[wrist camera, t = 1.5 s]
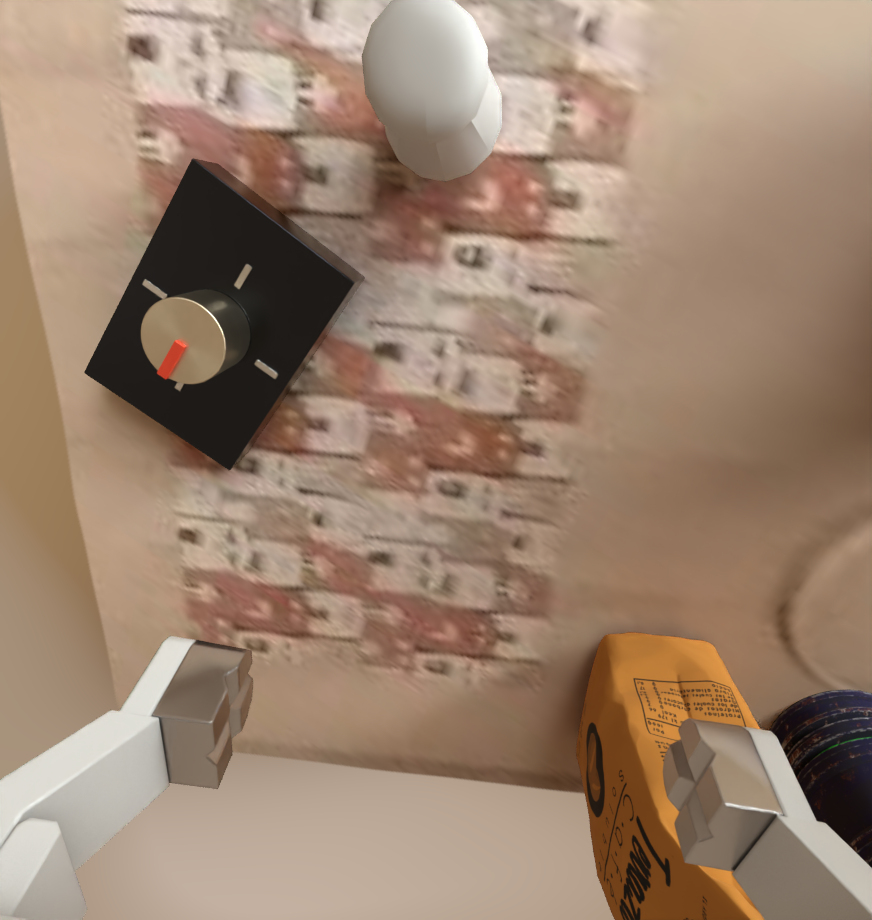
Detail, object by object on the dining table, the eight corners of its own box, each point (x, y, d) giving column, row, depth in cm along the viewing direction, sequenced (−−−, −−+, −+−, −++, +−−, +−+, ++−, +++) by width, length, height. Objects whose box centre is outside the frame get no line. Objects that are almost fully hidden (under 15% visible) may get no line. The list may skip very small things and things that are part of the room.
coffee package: (552, 739, 46) (603, 1144, 26) (595, 611, 42) (699, 985, 21) (677, 763, 46) (827, 1188, 26) (734, 637, 41) (972, 1038, 21)
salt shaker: (369, 138, 31) (298, 88, 19) (430, 30, 29) (394, -98, 17) (458, 206, 32) (443, 199, 20) (523, 107, 30) (549, 34, 18)
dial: (196, 272, 32) (160, 278, 28) (265, 322, 33) (238, 335, 29) (160, 337, 33) (122, 351, 30) (227, 383, 34) (197, 402, 31)
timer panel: (217, 162, 32) (190, 157, 30) (365, 277, 34) (354, 282, 31) (113, 361, 37) (81, 373, 34) (247, 453, 39) (228, 472, 36)
